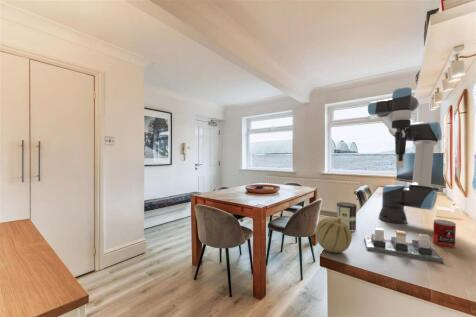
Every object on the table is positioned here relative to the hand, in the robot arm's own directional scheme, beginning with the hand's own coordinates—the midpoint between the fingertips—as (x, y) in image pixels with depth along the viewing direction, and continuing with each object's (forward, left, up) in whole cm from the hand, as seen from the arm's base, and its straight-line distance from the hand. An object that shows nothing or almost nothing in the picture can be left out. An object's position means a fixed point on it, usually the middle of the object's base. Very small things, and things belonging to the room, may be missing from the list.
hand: (399, 167), depth 108 cm
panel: (+13, -2, -36) cm, 39 cm away
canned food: (-4, +19, -37) cm, 41 cm away
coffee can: (-8, -23, -37) cm, 44 cm away
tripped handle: (+16, -2, -32) cm, 36 cm away
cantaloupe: (+28, -29, -37) cm, 54 cm away
